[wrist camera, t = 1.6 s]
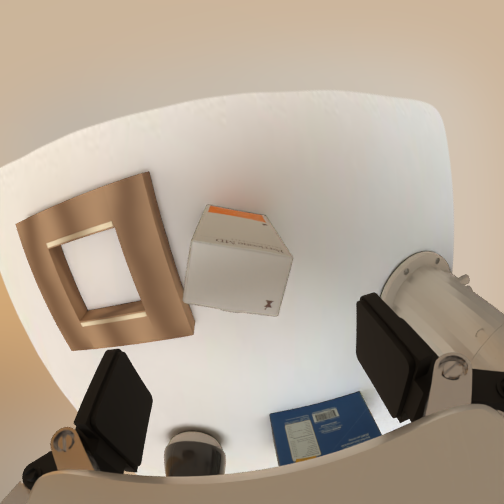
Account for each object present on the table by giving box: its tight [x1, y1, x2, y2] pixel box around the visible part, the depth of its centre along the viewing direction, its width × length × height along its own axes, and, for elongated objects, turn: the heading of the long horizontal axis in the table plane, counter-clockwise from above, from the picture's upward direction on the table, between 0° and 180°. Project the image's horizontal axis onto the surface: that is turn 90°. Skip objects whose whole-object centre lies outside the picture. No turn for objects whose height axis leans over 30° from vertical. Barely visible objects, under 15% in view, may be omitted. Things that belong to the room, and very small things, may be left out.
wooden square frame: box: [16, 172, 195, 351], centre depth 26 cm, size 17×17×3 cm
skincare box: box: [183, 205, 293, 317], centre depth 21 cm, size 6×4×12 cm
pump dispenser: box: [164, 431, 226, 477], centre depth 31 cm, size 10×10×15 cm
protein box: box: [270, 392, 382, 466], centre depth 32 cm, size 10×15×16 cm
